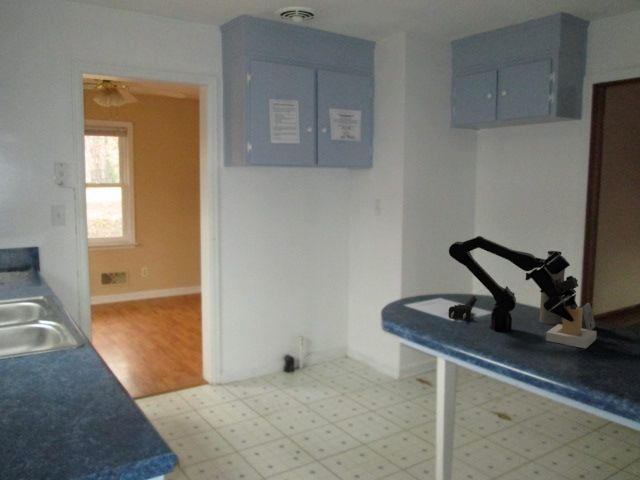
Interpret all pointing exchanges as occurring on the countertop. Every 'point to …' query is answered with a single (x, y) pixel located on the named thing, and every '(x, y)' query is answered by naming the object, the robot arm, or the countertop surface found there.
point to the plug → (576, 325)
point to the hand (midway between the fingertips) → (576, 318)
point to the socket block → (571, 337)
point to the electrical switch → (587, 317)
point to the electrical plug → (461, 310)
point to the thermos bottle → (544, 314)
